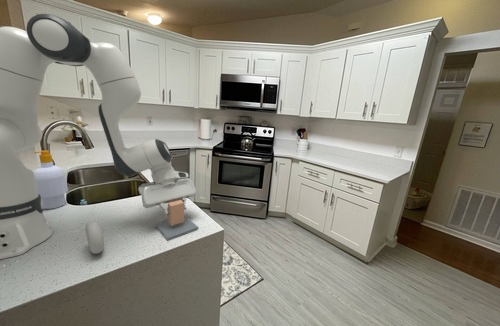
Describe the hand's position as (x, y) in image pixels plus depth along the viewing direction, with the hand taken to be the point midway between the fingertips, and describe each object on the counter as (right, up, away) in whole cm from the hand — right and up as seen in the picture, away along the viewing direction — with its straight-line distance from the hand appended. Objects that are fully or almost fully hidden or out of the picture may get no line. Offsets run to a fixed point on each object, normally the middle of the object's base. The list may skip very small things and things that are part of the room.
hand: (176, 211), depth 79 cm
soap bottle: (-57, 0, +12) cm, 59 cm away
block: (0, -4, +1) cm, 4 cm away
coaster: (-1, -7, +2) cm, 7 cm away
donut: (-20, -9, -14) cm, 26 cm away
